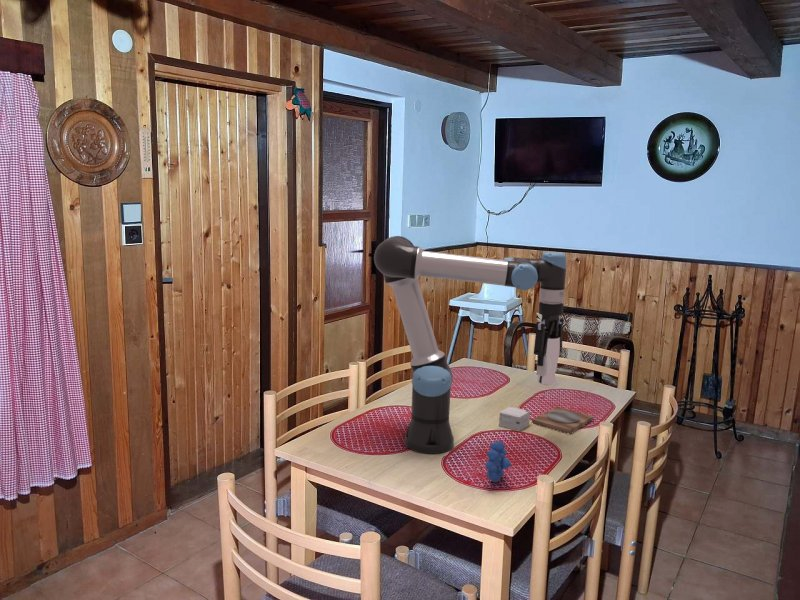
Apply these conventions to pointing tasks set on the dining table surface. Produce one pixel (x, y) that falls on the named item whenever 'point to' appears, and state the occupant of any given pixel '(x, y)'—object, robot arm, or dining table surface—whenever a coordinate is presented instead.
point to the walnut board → (563, 420)
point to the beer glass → (550, 362)
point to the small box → (514, 418)
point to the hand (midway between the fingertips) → (546, 372)
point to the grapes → (496, 461)
